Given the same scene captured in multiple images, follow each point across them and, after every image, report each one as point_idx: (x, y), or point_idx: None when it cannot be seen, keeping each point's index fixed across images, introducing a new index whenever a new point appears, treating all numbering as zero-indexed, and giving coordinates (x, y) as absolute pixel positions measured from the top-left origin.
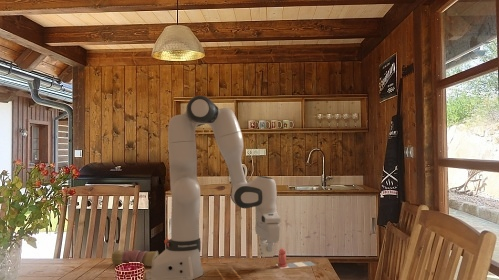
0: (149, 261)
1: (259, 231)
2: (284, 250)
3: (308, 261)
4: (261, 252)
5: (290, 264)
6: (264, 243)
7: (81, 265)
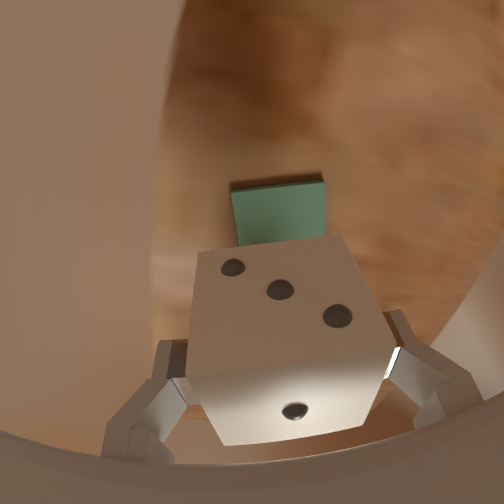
0: None
1: (485, 477)
2: None
3: None
4: (254, 269)
5: None
6: (253, 394)
7: None
